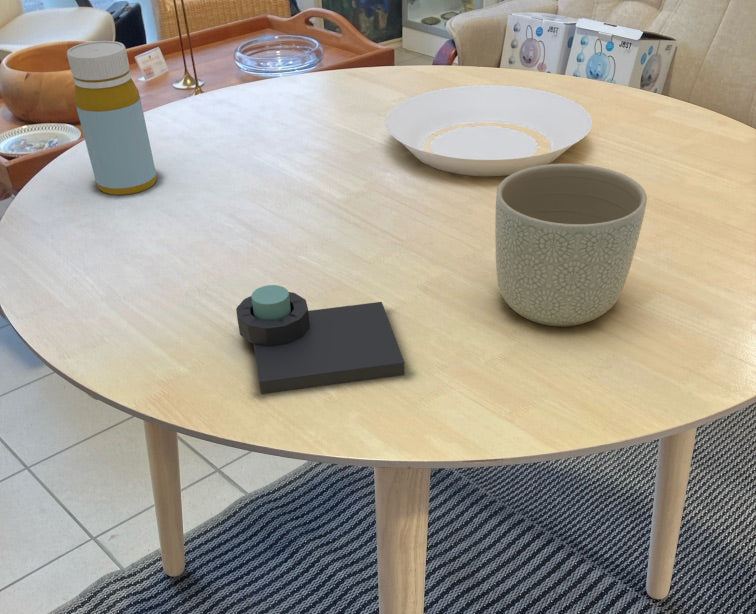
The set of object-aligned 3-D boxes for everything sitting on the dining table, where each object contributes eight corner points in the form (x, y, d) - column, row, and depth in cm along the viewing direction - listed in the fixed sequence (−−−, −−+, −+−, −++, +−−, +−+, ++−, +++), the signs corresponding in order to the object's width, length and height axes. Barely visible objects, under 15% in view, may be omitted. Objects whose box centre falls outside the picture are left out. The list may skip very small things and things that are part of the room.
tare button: (255, 324, 73) (252, 305, 71) (252, 305, 75) (249, 287, 74) (292, 319, 73) (290, 301, 72) (288, 300, 75) (286, 282, 74)
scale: (249, 400, 70) (243, 364, 68) (239, 329, 78) (234, 295, 76) (404, 379, 72) (404, 343, 69) (380, 311, 79) (379, 277, 77)
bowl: (577, 199, 95) (581, 167, 93) (362, 181, 101) (361, 151, 98) (595, 119, 113) (600, 90, 110) (411, 108, 118) (411, 80, 116)
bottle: (170, 181, 103) (142, 44, 92) (130, 203, 98) (96, 62, 88) (126, 170, 105) (95, 36, 95) (85, 192, 101) (48, 54, 91)
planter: (548, 359, 73) (563, 240, 65) (462, 298, 81) (467, 185, 73) (654, 315, 77) (679, 199, 70) (563, 262, 85) (577, 152, 78)
